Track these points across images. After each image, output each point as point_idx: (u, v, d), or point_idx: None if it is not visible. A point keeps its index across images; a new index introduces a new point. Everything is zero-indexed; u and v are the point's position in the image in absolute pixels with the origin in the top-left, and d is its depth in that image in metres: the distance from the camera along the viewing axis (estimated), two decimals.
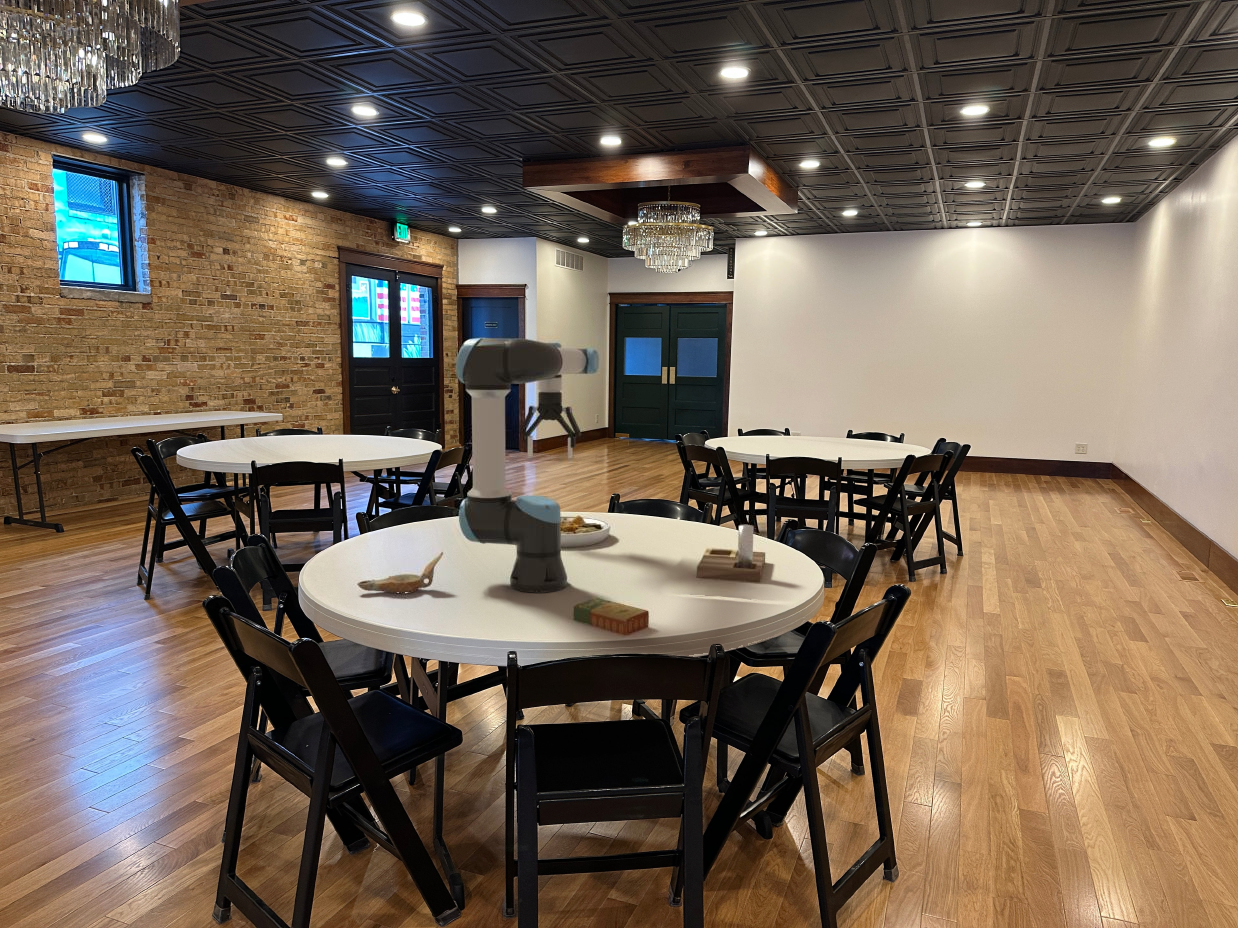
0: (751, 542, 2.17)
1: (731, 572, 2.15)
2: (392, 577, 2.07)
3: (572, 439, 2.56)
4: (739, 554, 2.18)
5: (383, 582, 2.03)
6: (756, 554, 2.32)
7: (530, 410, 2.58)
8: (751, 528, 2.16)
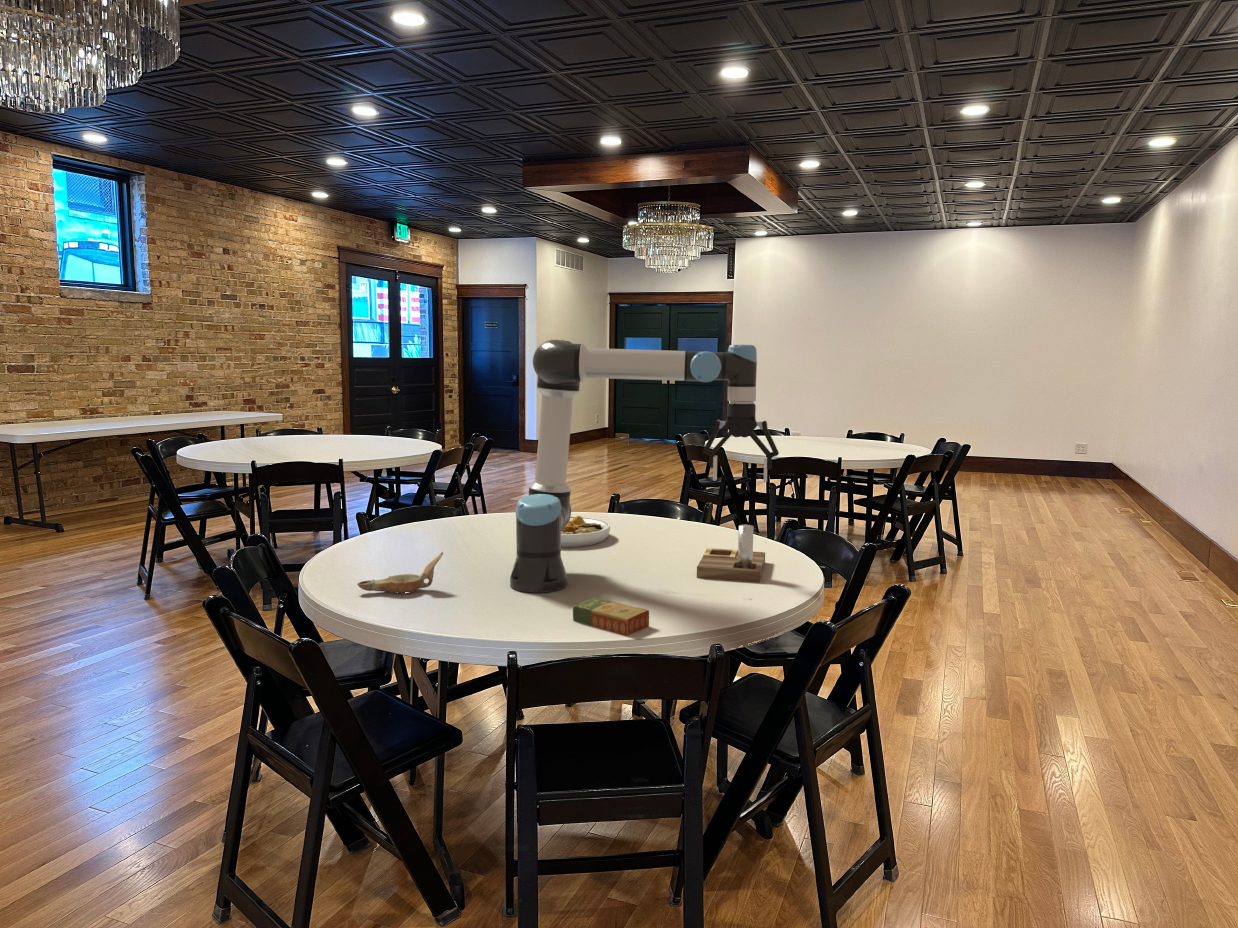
0: (751, 542, 2.17)
1: (731, 572, 2.15)
2: (392, 577, 2.07)
3: (769, 460, 2.15)
4: (739, 554, 2.18)
5: (383, 582, 2.03)
6: (756, 554, 2.32)
7: (717, 425, 2.16)
8: (751, 528, 2.16)
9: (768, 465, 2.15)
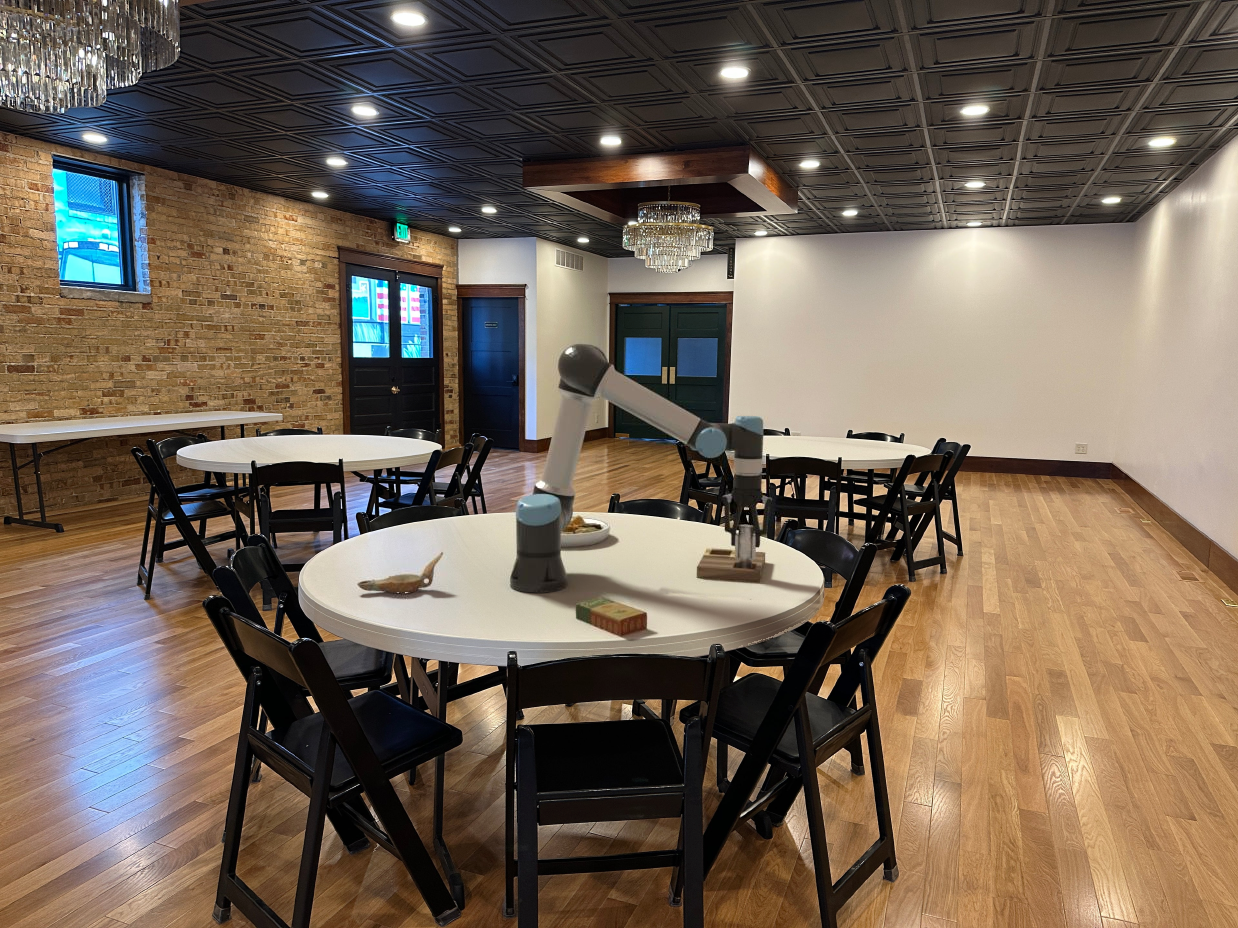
0: (751, 542, 2.17)
1: (731, 572, 2.15)
2: (392, 577, 2.07)
3: (757, 537, 2.17)
4: (739, 554, 2.18)
5: (383, 582, 2.03)
6: (756, 554, 2.32)
7: (725, 501, 2.17)
8: (751, 528, 2.16)
9: (756, 543, 2.17)
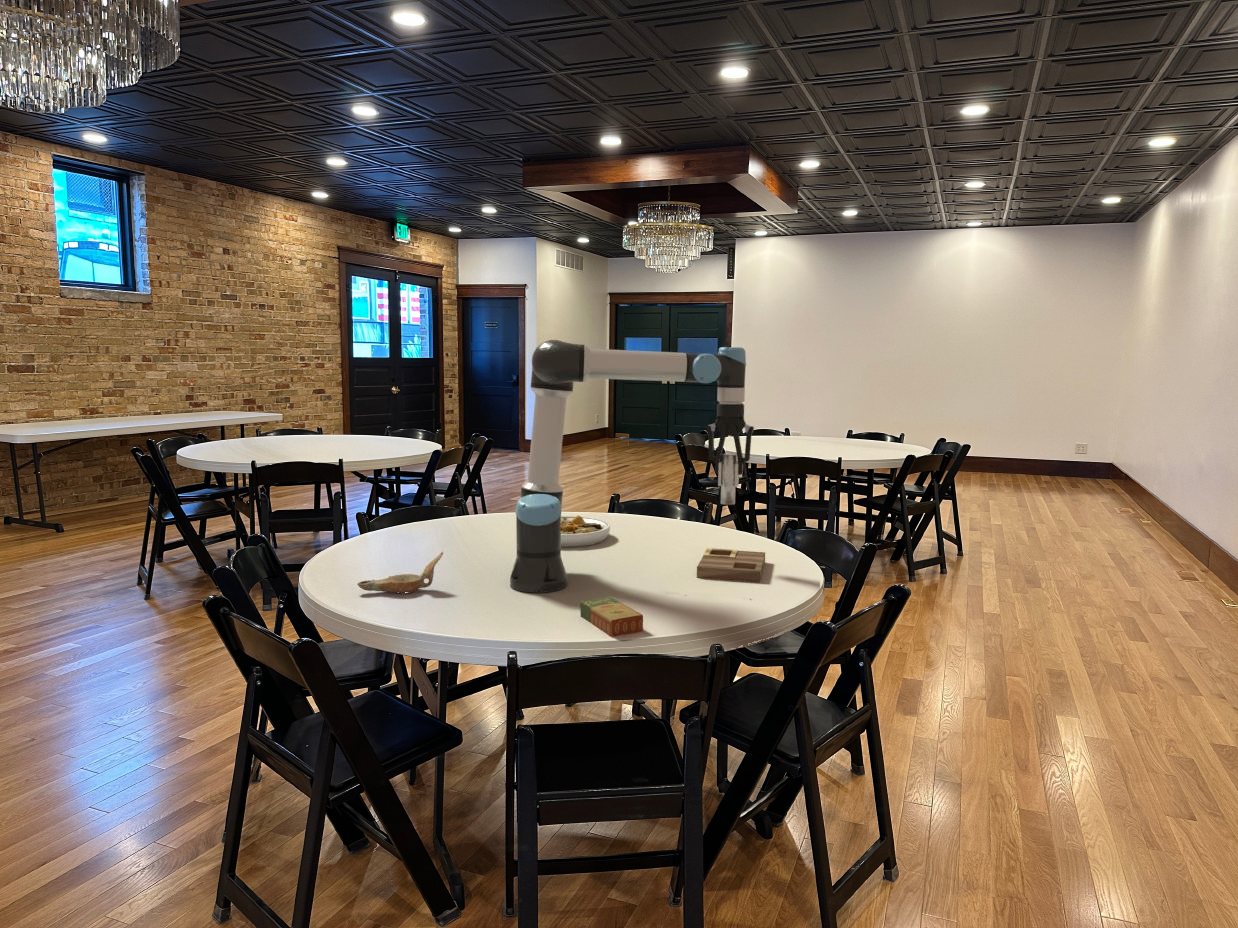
0: (734, 470, 2.25)
1: (731, 572, 2.15)
2: (392, 577, 2.07)
3: (740, 465, 2.25)
4: (722, 481, 2.26)
5: (383, 582, 2.03)
6: (756, 554, 2.32)
7: (709, 430, 2.25)
8: (734, 456, 2.24)
9: (739, 470, 2.25)
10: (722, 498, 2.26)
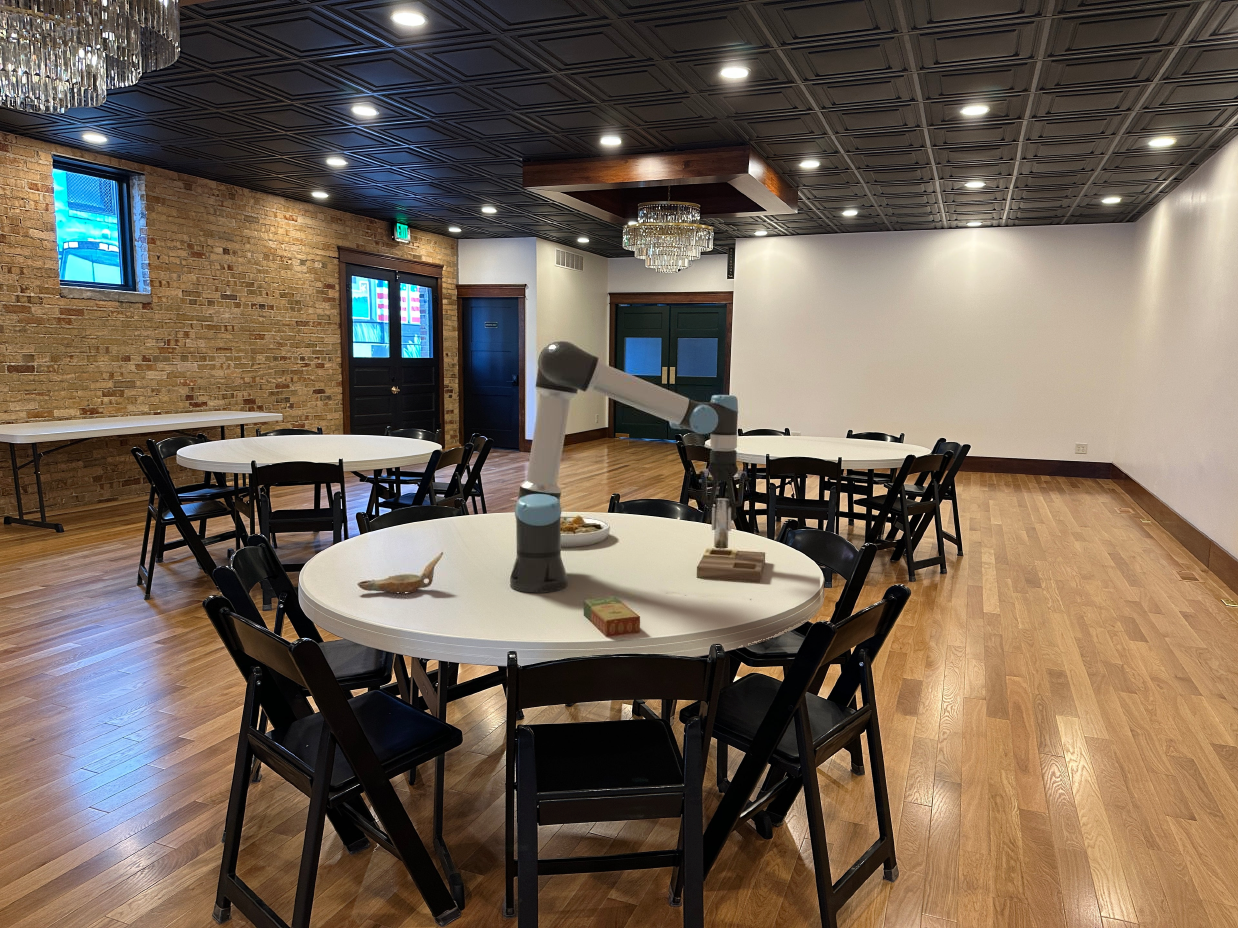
0: (727, 515, 2.30)
1: (731, 572, 2.15)
2: (392, 577, 2.07)
3: (733, 510, 2.30)
4: (716, 526, 2.31)
5: (383, 582, 2.03)
6: (756, 554, 2.32)
7: (702, 475, 2.30)
8: (727, 501, 2.29)
9: (732, 515, 2.30)
10: (715, 542, 2.31)
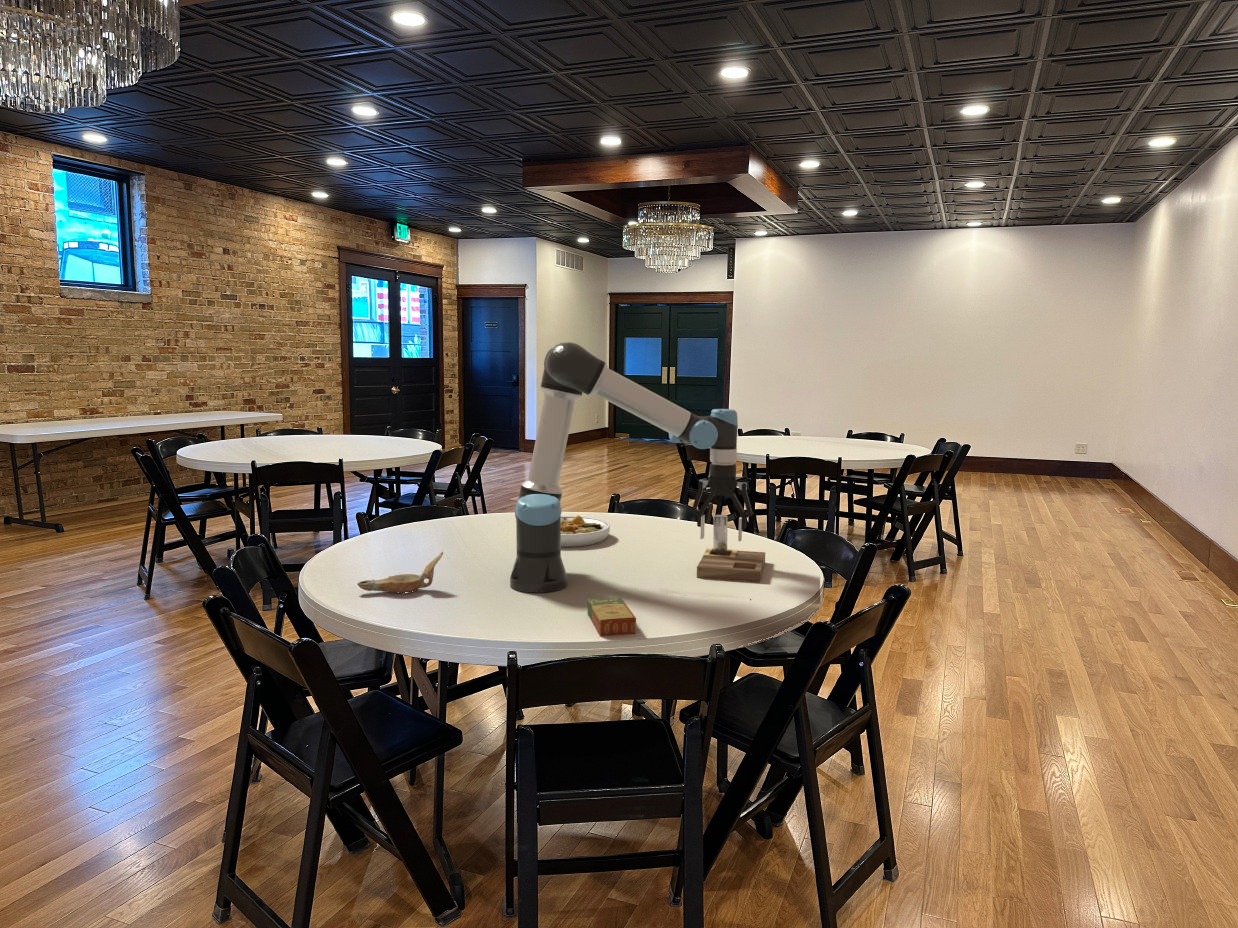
0: (725, 531, 2.30)
1: (731, 572, 2.15)
2: (392, 577, 2.07)
3: (743, 520, 2.29)
4: (714, 542, 2.31)
5: (383, 582, 2.03)
6: (756, 554, 2.32)
7: (700, 486, 2.30)
8: (725, 518, 2.30)
9: (742, 525, 2.30)
10: None
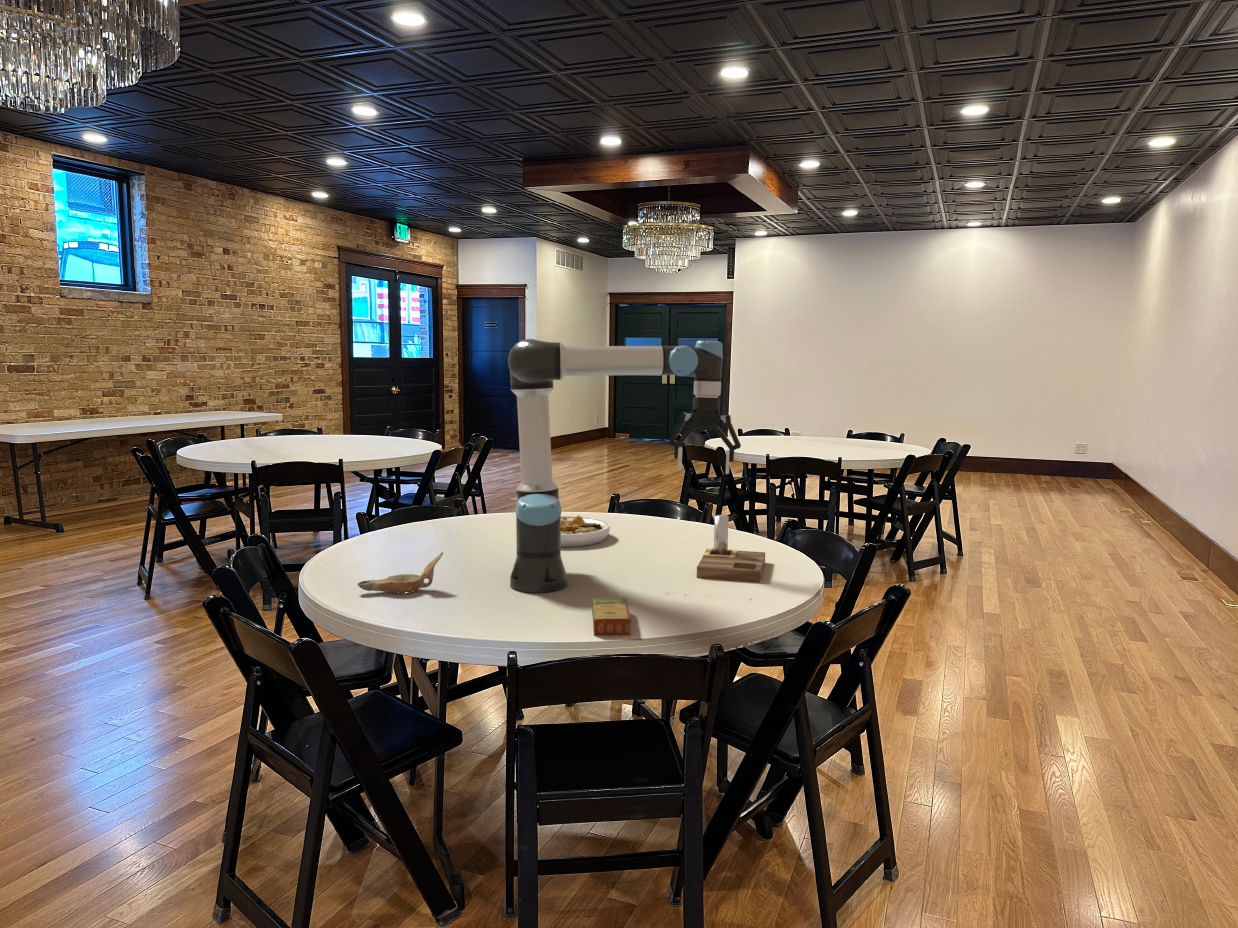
0: (726, 531, 2.31)
1: (731, 572, 2.15)
2: (392, 577, 2.07)
3: (731, 452, 2.24)
4: (715, 542, 2.31)
5: (383, 582, 2.03)
6: (756, 554, 2.32)
7: (683, 417, 2.25)
8: (726, 518, 2.30)
9: (730, 457, 2.24)
10: None
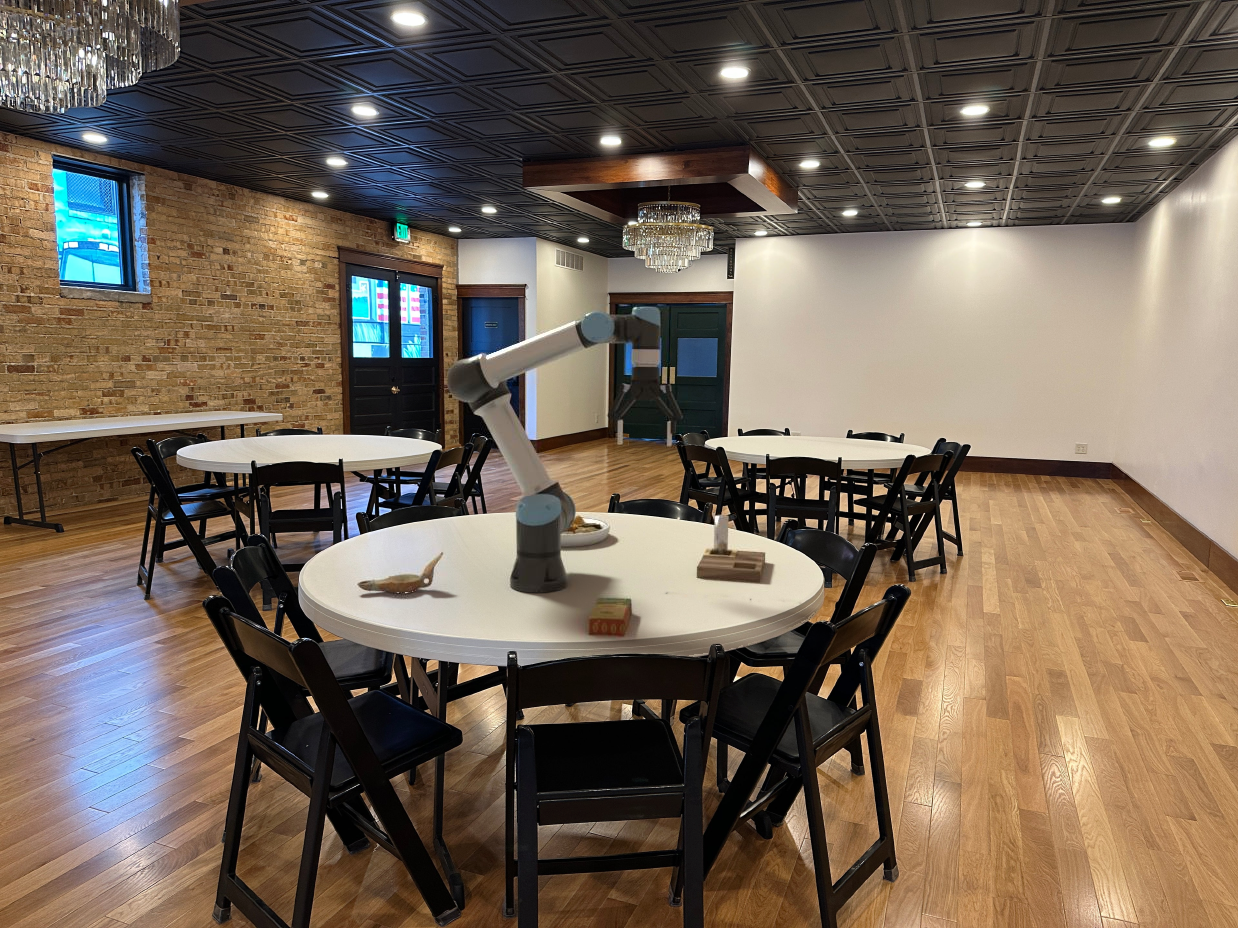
0: (726, 531, 2.30)
1: (731, 572, 2.15)
2: (392, 577, 2.07)
3: (672, 423, 2.13)
4: (715, 542, 2.31)
5: (383, 582, 2.03)
6: (756, 554, 2.32)
7: (621, 389, 2.15)
8: (726, 518, 2.30)
9: (672, 429, 2.14)
10: None
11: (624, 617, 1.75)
